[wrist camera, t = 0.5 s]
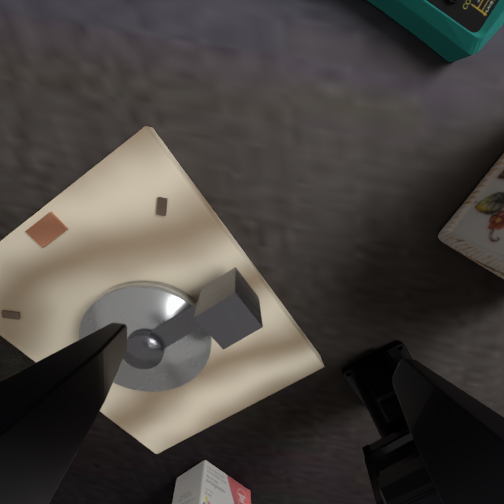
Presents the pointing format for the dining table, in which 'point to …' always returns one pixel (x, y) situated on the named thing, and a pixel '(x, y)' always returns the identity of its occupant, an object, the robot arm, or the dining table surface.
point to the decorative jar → (481, 223)
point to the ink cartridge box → (209, 487)
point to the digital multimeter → (448, 23)
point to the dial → (173, 327)
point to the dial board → (144, 268)
